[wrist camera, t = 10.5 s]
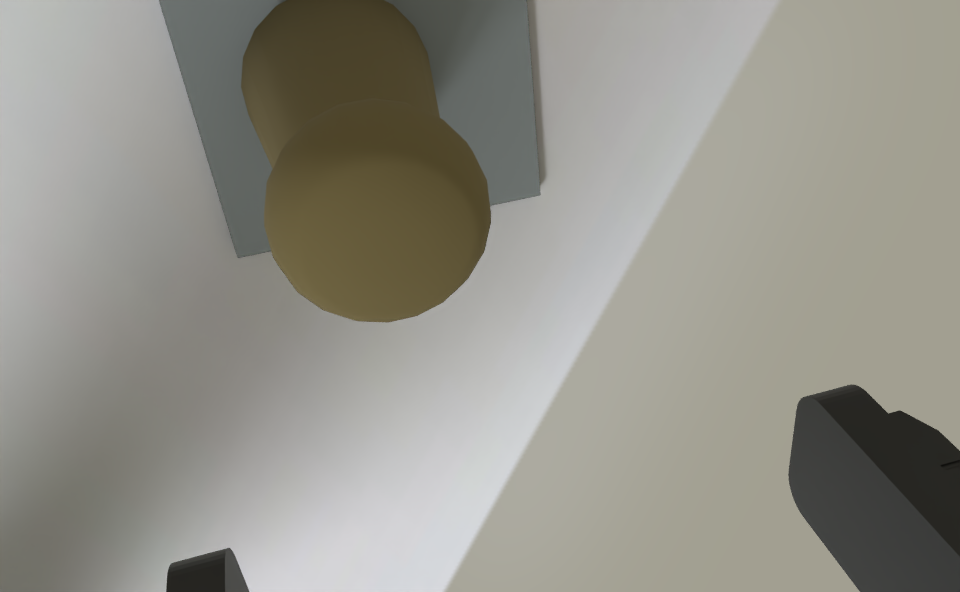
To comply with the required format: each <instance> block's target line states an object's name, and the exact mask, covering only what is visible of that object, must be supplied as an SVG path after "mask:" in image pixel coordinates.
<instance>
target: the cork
mask: <svg viewBox="0 0 960 592" xmlns="http://www.w3.org/2000/svg"><path fill="white" fill-rule="evenodd" d="M241 89H242V93H243V96H244V100H245V104H246V107H247V111H248V115H249V117H250V119H251V122H252V124H253V126H254V128H255V131H256V133H257V135H258V137H259V140H260V142H261V144H262V146H263V149H264V151H265V153H266V155H267V158H268V160H269V162H270V164H271V167H272V172H271V174H270V176H269V178H268V180H267V184H266V196H265V207H264V227H265V231H266V234H267V238H268V241H269V245H270V248H271V252H272V255H273V258H274V260H275V261H276V263H277V264H278V266H279V267H280V268H281V270H282V271H283V273H284V274H285V275H286V277H287V278H288V280H289V281H290V282H291V284H292V285H293V286H294V288H295V289H296V291H297V292H298V293H300V294H301V295H302V296H304V297H305V298H307V299H308V300H309V301H311V302H312V303H314V304H315V305H317V306H318V307H319V308H321V309H322V310H324V311H327V312H330V313H334V314H337V315H340V316H343V317H346V318H349V319H352V320H356V321H367V322H392V321H396V320H401V319H405V318H410V317H414V316H418V315H419V314H421V313H423V312H425V311H427V310H429V309H431V308H433V307H435V306H437V305H439V304H441V303H443V302H444V301H445V300H446V299H447V298H448V297H449V296H450V295H451V294H452V293H453V292H455V291H456V290H457V289H458V288H459V287H460V286H461V285H462V284H463V283H464V282H465V281H466V280H467V279H468V278H469V276H470V274H471V273H472V271H473V269H474V268H475V266H476V264H477V263H478V261H479V259H480V258H481V256H482V254H483V253H484V250H485V246H486V241H487V237H488V233H489V228H490V224H491V211H490V202H489V193H488V184H487V179H486V177H485V175H484V173H483V171H482V169H481V167H480V165H479V163H478V161H477V159H476V157H475V155H474V153H473V151H472V150H471V148H470V146H469V145H468V143H467V142H466V141H465V140H464V139H463V138H462V137H461V136H460V135H459V134H458V133H457V132H456V131H455V130H454V129H453V128H451V127H450V126H449V125H448V124H447V123H446V122H445V121H444V120H443V119H441V118H440V115H439V110H438V105H437V99H436V94H435V89H434V84H433V78H432V73H431V68H430V63H429V58H428V53H427V51H426V49H425V47H424V45H423V43H422V40H421V38H420V36H419V34H418V32H417V30H416V28H415V26H414V25H413V24H412V23H411V22H410V21H409V20H408V19H407V18H406V17H405V16H404V15H403V14H402V13H401V12H400V11H399V10H398V9H397V8H396V7H395V6H394V5H393V4H391V3H389V2H387V1H385V0H286V1H284V2H283V3H281V4H279V5H277V6H275V8H274V9H273V10H272V11H271V12H270V13H269V14H268V15H267V16H266V17H265V18H264V20H263V21H262V22H261V23H260V24H259V25H258V26H257V27H256V28H255V30H254V32H253V35H252V37H251V39H250V42H249V44H248V46H247V49H246V51H245V53H244V56H243V64H242V79H241Z"/></svg>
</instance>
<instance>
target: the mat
mask: <svg viewBox="0 0 960 592" xmlns="http://www.w3.org/2000/svg"><path fill="white" fill-rule="evenodd" d="M284 1H286V0H159V2H160V5H161V9H162V12H163V15H164V19H165V22H166V25H167V28H168V32H169V35H170V38H171V41H172V45H173V48H174V51H175V54H176V58H177V61H178V64H179V68H180V71H181V74H182V77H183V81H184V84H185V87H186V90H187V94H188V97H189V100H190V104H191V107H192V110H193V113H194V117H195V120H196V123H197V126H198V130H199V133H200V136H201V140H202V143H203V146H204V149H205V153H206V156H207V159H208V162H209V166H210V169H211V172H212V176H213V179H214V182H215V185H216V189H217V192H218V195H219V198H220V202H221V205H222V208H223V212H224V215H225V218H226V221H227V225H228V228H229V231H230V234H231V238H232V241H233V244H234V247H235V251H236V254H237V257H238V258H240V257H245V256H250V255H255V254H260V253H265V252H269V251H271V248H270V245H269V241H268V238H267V234H266V231H265V227H264V207H265V196H266V184H267V180H268V178H269V176H270V174H271V172H272V167H271V164H270V162H269V160H268V158H267V155H266V153H265V151H264V149H263V146H262V144H261V142H260V140H259V137H258V135H257V133H256V131H255V128H254V126H253V124H252V122H251V119H250V117H249V115H248V111H247V107H246V104H245V100H244V96H243V93H242V89H241V79H242V64H243V56H244V53H245V51H246V49H247V46H248V44H249V42H250V39H251V37H252V35H253V32H254V30H255V28H256V27H257V26H258V25H259V24H260V23H261V22H262V21H263V20H264V18H265V17H266V16H267V15H268V14H269V13H270V12H271V11H272V10H273V9H274V8H275V6H277V5H279V4H281V3H283V2H284ZM385 1H387V2H389V3H391V4H393V5H394V6H395V7H396V8H397V9H398V10H399V11H400V12H401V13H402V14H403V15H404V16H405V17H406V18H407V19H408V20H409V21H410V22H411V23H412V24H413V25H414V26H415V28H416V30H417V32H418V34H419V36H420V38H421V40H422V43H423V45H424V47H425V49H426V51H427V53H428V58H429V63H430V68H431V73H432V78H433V84H434V89H435V94H436V99H437V105H438V110H439V115H440V118H441V119H443V120H444V121H445V122H446V123H447V124H448V125H449V126H450V127H451V128H453V129H454V130H455V131H456V132H457V133H458V134H459V135H460V136H461V137H462V138H463V139H464V140H465V141H466V142H467V143H468V145H469V146H470V148H471V150H472V151H473V153H474V155H475V157H476V159H477V161H478V163H479V165H480V167H481V169H482V171H483V173H484V175H485V177H486V179H487V184H488V193H489V202H490V206H491V205H496V204H501V203H505V202H510V201H515V200H520V199H525V198H530V197H534V196H539V195H540V181H539V166H538V152H537V138H536V124H535V109H534V95H533V81H532V67H531V53H530V38H529V24H528V10H527V0H385Z"/></svg>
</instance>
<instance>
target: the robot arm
mask: <svg viewBox="0 0 960 592" xmlns="http://www.w3.org/2000/svg"><path fill="white" fill-rule="evenodd" d="M789 484H790V488H791V492H792V495H793V498H794V501H795V503H796V505H797V507H798V509H799V511H800V513H801V514H802V515H803V517H804V518H805V520H806V521H807V522H808V524H809V525H810V526H811V528H812V529H813V530H814V532H815V533H816V534H817V535H818V537H819V538H820V539H821V541H822V542H823V543H824V545H825V546H826V547H827V549H828V550H829V551H830V553H831V554H832V555H833V557H834V558H835V559H836V560H837V562H838V563H839V565H840V566H841V567H842V568H843V570H844V571H845V572H846V574H847V575H848V576H849V578H850V579H851V580H852V581H853V583H854V584H855V586H856V587H857V588H858V590H859V591H860V592H960V451H959V450H958V449H957V448H956V447H955V446H954V445H953V444H952V443H951V442H950V441H949V440H948V439H947V438H946V437H944V436H943V435H942V434H941V433H940V432H939V431H938V430H936V429H934V428H932V427H931V426H929V425H927V424H925V423H923V422H921V421H919V420H917V419H915V418H914V417H912V416H910V415H908V414H906V413H904V412H902V411H896V412H893V413H889V414H888V413H887V412H886V411H885V410H884V409H883V408H882V407H881V406H880V405H879V404H878V403H877V402H876V401H875V400H874V399H873V398H872V397H871V396H870V395H869V394H868V393H867V392H866V391H865V390H864V389H862V388H861V387H859V386H856V385H847V386H844V387H840V388H836V389H833V390H829V391H825V392H822V393H817V394H814V395H810V396H806V397H803V398H802V399H801V400H800V401H799V403H798V406H797V411H796V418H795V426H794V434H793V442H792V450H791V457H790V465H789ZM166 592H249V590H248V587H247V585H246V582H245V580H244V577H243V575H242V572H241V570H240V567H239V565H238V562H237V560H236V557H235V555H234V553H233V551H232V550H231V549H230V548H227V549H223V550H219V551H215V552H212V553H208V554H204V555H200V556H197V557H193V558H189V559H185V560H182V561H178V562H174V563H171V565H170V566H169V569H168V575H167V589H166Z"/></svg>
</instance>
